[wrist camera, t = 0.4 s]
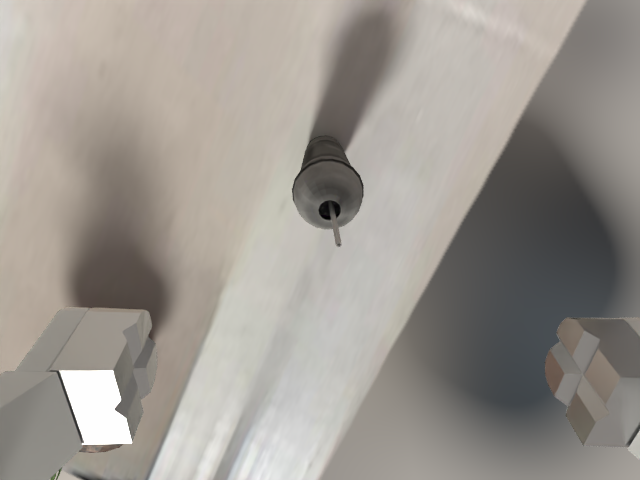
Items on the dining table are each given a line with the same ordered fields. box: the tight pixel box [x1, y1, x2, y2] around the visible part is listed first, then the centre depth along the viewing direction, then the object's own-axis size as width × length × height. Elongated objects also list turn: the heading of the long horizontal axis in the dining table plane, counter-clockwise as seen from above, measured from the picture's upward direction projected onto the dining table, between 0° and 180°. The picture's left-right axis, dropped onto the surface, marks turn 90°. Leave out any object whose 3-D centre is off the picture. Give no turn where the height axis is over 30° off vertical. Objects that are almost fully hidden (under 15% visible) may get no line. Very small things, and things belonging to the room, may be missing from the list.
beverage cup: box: [292, 136, 363, 247], centre depth 47 cm, size 7×7×20 cm
